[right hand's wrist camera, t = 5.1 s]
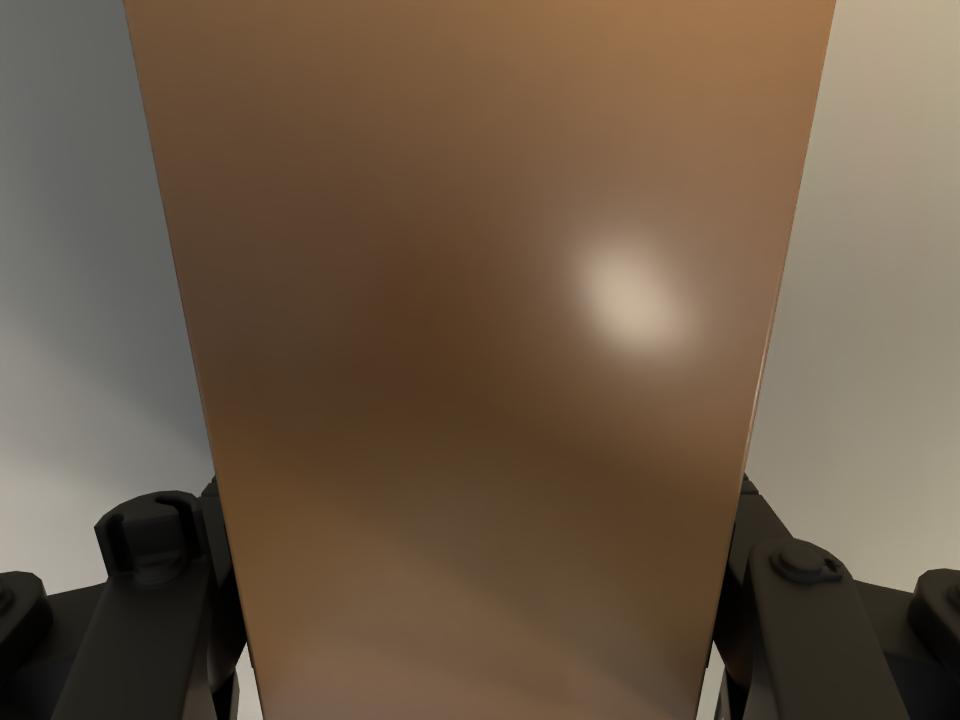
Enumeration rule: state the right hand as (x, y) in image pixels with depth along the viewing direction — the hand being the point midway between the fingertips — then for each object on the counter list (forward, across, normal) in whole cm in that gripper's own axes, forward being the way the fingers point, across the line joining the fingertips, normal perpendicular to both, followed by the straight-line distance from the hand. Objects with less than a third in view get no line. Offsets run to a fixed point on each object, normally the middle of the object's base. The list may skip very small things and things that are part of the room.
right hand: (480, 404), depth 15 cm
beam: (+1, 0, -19) cm, 19 cm away
